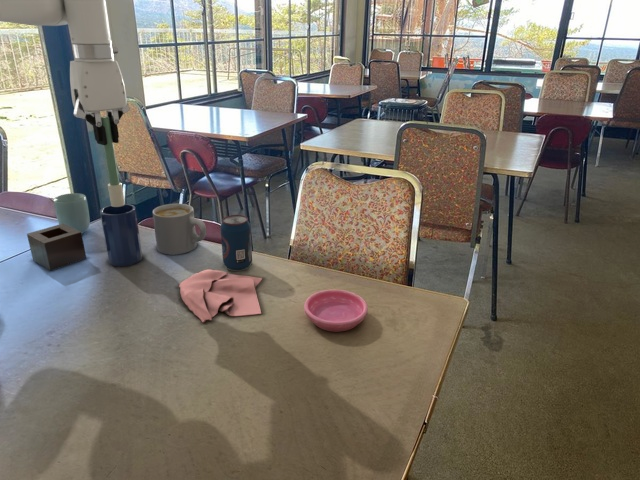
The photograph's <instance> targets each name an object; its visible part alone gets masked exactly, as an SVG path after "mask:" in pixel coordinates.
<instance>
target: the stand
mask: <svg viewBox="0 0 640 480" xmlns="http://www.w3.org/2000/svg"><path fill="white" fill-rule="evenodd" d="M26 236H27V237H26V238H27V240H28V244H29V249H30V254H31V257H32V260H33V262H35V263H37V264H39V265H40V266H42V267H43V268H45V269H47V270H48V271H50V272H52V271H55V270H57V269H60V268H63V267H66V266H68V265H71V264H75V263H78V262H80V261H83V260H86V259H87V254H86V249H85V244H84V239H83V233H81V232H80V231H78V230H76V229H74V228H72V227H70V226H68V225H65V224H56V225H53V226H49V227H46V228H42V229H39V230H35V231H32V232H28V233H26Z"/></svg>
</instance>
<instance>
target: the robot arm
mask: <svg viewBox="0 0 640 480" xmlns="http://www.w3.org/2000/svg"><path fill="white" fill-rule="evenodd" d="M109 21H110V20H109V15H108V8H107V2H106V0H0V22H1V23H10V24H18V25H19V24H20V25H25V26H36V27H38V26H43V27H44V26H46V27H59V26H65V25H68V26H67V27H68V33H69V37H70V43H71V49H72V54H73V59H74V60H70V61H69V84H70V95H71V101H72V105H73V108H74V109H73V116H74V117H76V118H80V119H82V120H85V121H86V122H87V123H89V125H90V126H92V129H93V135H94V140H95V141H96V144H97V145H102V146H104V145H107V137H106V131H105V127H104V126H102V122H101V117H102V116H101V112H105V114H106V115H105V116H106V117H109V121H110V127H111V133H112V140H113V144H118V143H120V141H119V137H120V134H119V127H118V125H119V124H120V120H121V118H122V117H123V115H125V114H126V113H128V112H129V111H131V107H130V105H129V103H128V100H127V92H126V87H125V82H124V78H123V74H122V71H121V69H120V65H119V63H118V60H116V59H115V55H117V54H119V49H118V47H117V46H114V45H113V42H112V37H111V29H110V28H111V27H110V22H109ZM86 112H87V113H86Z"/></svg>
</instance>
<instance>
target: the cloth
mask: <svg viewBox="0 0 640 480" xmlns="http://www.w3.org/2000/svg"><path fill="white" fill-rule="evenodd" d="M262 280H263V277H256V276H249V275H241V274H232V273H228V272H226V271H223V270H218V269H215V270H213V269H212V268H210V269H204V270H203V269H202V271H200V272H196V273H194V274H193V275H191V276H188V277H187V278H186V279H184V280H183V281H181V282H180V283H179V284H178V288H180V290H179V291H180V292H179V293H180V297H181V300H182V302H183V303H184V305H185V306H187V308H188V309H189V311H191V312H192V313H193V315H194V316H196V317H197V318H199V320H200V321H201V322H202V323H205V322H207V321H213V320H212V319H213V318H214V317H215V316H216V315H218V311H220V312H221V313H225V314H226V315H228V316H229V317H243V316H255V315H262V312H261V306H260V303H259V302H260V301H259V299H258V295H257V291H256V287H257V286H258V285H259V284H260V283H261V282H262Z"/></svg>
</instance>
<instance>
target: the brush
mask: <svg viewBox="0 0 640 480" xmlns="http://www.w3.org/2000/svg"><path fill="white" fill-rule="evenodd" d="M101 122H102V126H104V127H105V131H106V137H107V145H103V151H104V155H105V164H106V169H107V175H108V180H109V181H108V182H109V183H107V189H108V195H109V202H110V205H111V206H112V207H121V206H124V205H125V204H126V201H125V195H124V189H123V183H122V182H120V180H119V173H118V166H117V160H116V153H115V146H114V143H113V140H112V133H111V127H110V121H109V117H107V115H105V116H101Z"/></svg>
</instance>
